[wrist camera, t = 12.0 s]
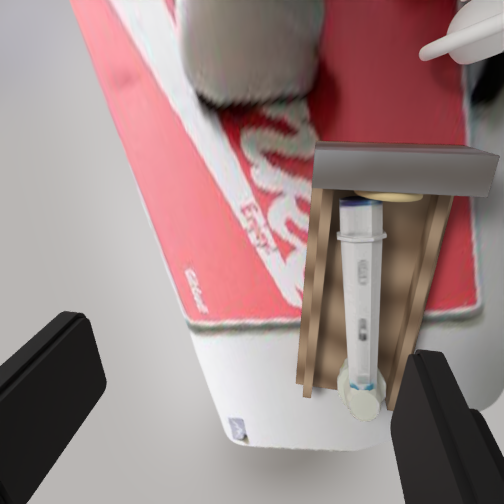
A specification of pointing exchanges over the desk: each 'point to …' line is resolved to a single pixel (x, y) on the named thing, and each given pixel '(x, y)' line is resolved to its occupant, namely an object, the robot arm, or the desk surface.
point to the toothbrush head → (361, 305)
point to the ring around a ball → (471, 33)
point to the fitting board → (393, 246)
